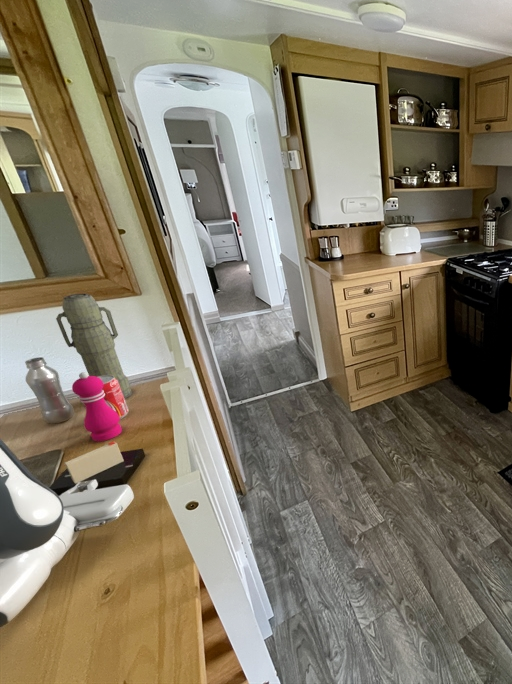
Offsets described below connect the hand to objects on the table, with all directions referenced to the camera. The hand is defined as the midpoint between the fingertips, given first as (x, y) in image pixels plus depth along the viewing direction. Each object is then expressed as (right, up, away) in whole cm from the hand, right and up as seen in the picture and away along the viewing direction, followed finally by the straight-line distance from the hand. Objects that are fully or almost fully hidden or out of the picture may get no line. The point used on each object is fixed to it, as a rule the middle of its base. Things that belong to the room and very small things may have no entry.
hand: (88, 483), depth 81 cm
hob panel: (-7, -3, +10) cm, 13 cm away
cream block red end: (-6, -1, +9) cm, 11 cm away
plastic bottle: (-40, +6, +31) cm, 51 cm away
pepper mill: (-20, +3, +26) cm, 33 cm away
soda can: (-26, +7, +33) cm, 43 cm away
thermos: (-35, +11, +44) cm, 58 cm away
